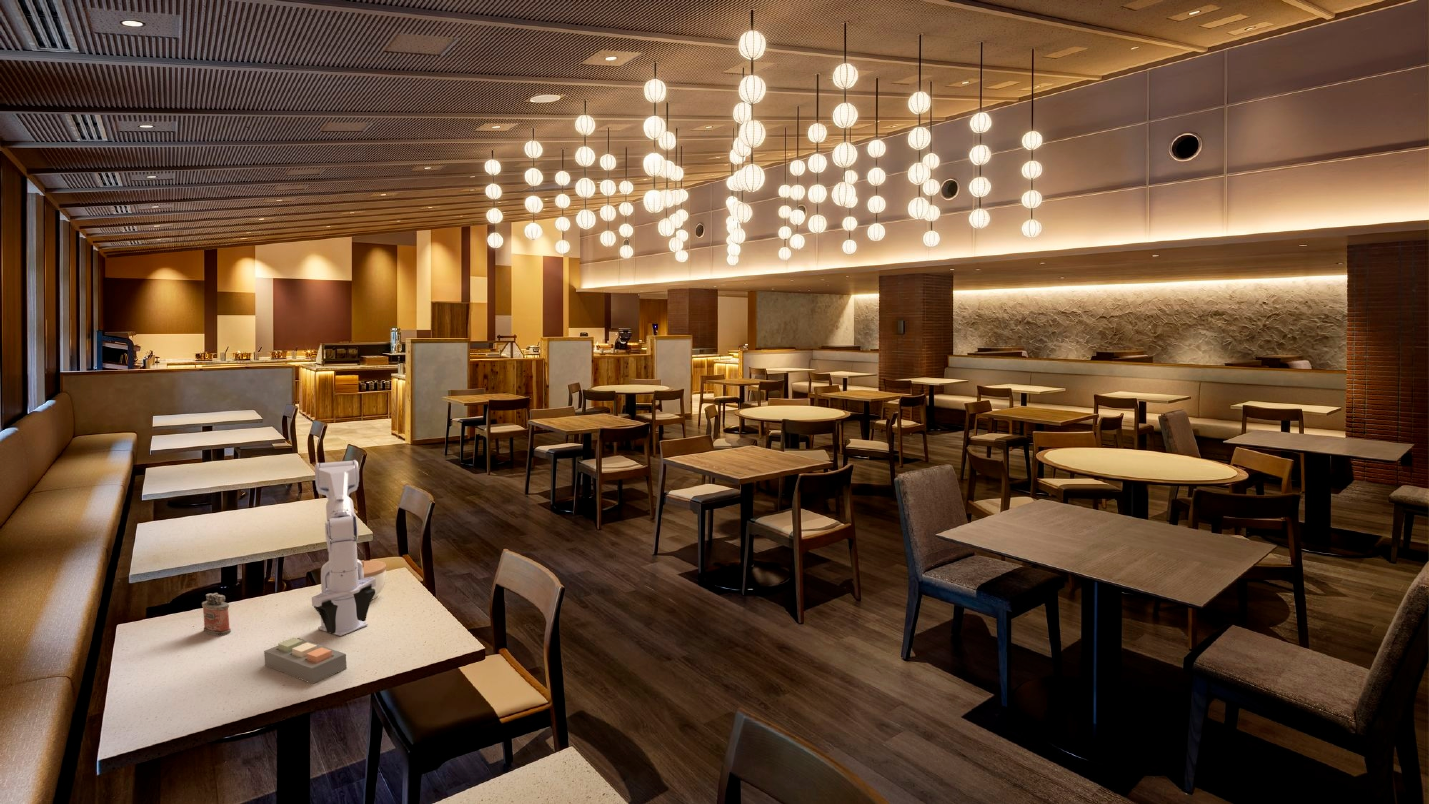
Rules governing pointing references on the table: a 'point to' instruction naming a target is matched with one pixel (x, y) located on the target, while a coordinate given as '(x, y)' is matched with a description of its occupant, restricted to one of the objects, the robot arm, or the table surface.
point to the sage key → (289, 645)
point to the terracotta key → (319, 655)
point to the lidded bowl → (375, 574)
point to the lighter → (216, 615)
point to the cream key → (303, 649)
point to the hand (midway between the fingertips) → (346, 626)
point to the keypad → (305, 664)
